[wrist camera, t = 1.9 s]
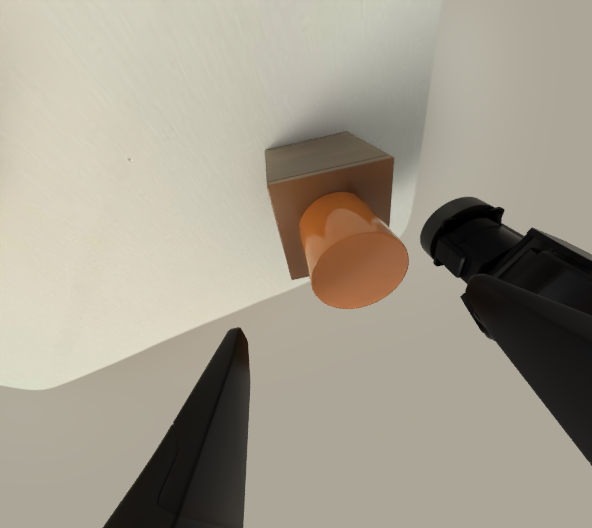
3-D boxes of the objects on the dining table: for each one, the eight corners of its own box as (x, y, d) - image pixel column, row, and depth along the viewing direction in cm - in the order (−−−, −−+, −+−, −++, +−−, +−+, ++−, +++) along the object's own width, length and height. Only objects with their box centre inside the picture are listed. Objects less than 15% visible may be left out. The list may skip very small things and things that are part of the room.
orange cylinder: (372, 183, 11) (415, 220, 8) (371, 249, 14) (404, 298, 11) (292, 201, 12) (303, 245, 8) (304, 264, 14) (317, 317, 11)
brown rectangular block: (347, 131, 17) (394, 157, 11) (350, 208, 20) (387, 259, 14) (264, 150, 17) (266, 186, 11) (282, 223, 21) (291, 280, 15)
